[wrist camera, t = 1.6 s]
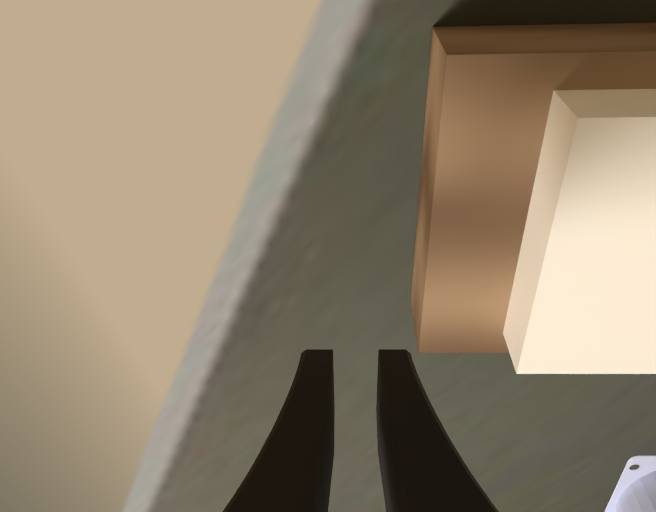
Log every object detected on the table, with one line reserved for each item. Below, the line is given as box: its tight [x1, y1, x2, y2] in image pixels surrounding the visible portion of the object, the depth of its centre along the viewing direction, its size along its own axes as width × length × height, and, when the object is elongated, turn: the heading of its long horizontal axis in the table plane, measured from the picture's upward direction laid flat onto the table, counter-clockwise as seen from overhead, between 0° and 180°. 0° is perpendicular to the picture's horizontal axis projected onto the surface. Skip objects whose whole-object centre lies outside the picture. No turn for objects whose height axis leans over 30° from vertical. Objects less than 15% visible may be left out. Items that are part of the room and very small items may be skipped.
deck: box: [411, 23, 656, 353], centre depth 19 cm, size 11×14×3 cm
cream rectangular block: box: [503, 89, 656, 374], centre depth 17 cm, size 9×6×2 cm, turn 1°
